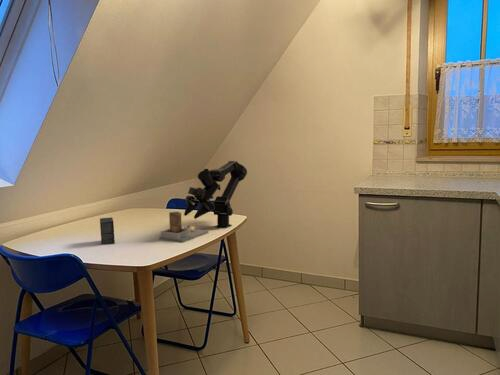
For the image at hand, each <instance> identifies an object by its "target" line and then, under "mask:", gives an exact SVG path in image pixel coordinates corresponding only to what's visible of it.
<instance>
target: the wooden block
mask: <svg viewBox="0 0 500 375" xmlns="http://www.w3.org/2000/svg"><path fill="white" fill-rule="evenodd" d="M168 213H169V215H168V216H169V229H170V232H171V233H180V232H182V227H183V225H182V223H183V222H182V212H180V211H171V212H168Z"/></svg>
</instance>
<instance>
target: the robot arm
mask: <svg viewBox="0 0 500 375" xmlns="http://www.w3.org/2000/svg"><path fill="white" fill-rule="evenodd" d="M228 174H230V179H229V180H228V183H227V185H226V187H225V189H224V190H223V193H222V195H221V196H216V198H215V200H213V202H212V201H211V200H212V199H213V198H214V194H215V193H216V192H217V190H218V191H221V184H220V183H221V182H223V181H224V180H225V179H226V176H227V175H228ZM247 174H248V170H247V167H245V166H244V165H243V164H241V163H239V162H238V161H237V160H229V161H227V163H225V164H223V165H222V166H221V167H219V168H213V169H211V170H209V168H204V169H203V170H201V171H199V173H198V174H197V178H198V180H199V182H200V183H201V184H202V185H203V188H201V187H189V189H188V192H187V194H189V195H187V196H186V197H185V202H186V208H185V210H184V213H183V216H185V217H187V216H188V215H189V214H190V213H191V212H193V211H194V210H196V208H197V207H198V206H199V208H198V209H197V211H196V212H195V214H194V216H193V219H195V220H197V219H198V218H200V217H202V216H203V215H206V214H208V213H210V212H213V215H214V216H217V217H216V218H217V219H216V222H217V223H216V224H217V225H215V226H214V227H216V228H222V229H223V228H224V229H226V228H229V227H231V226H232V223H231V224H230V216H232V215H233V213H234V210H233V208H232V207H231V199H232V197H233V195H234V192H235V191H236V189H237V187H238V184H239V183H240V182H241V181H244V179H245V178H246V176H247ZM219 182H220V183H219Z"/></svg>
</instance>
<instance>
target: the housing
mask: <svg viewBox="0 0 500 375" xmlns="http://www.w3.org/2000/svg"><path fill="white" fill-rule="evenodd" d="M160 233H161V234H160V236H159V237H158V239H159V240H165V241H170V242H171V241H172V242H177V243H185V242H187V241H190V240H193V239H196V238H198V237H201V236H203V235H204V236H205V235H206V234H209V230H206V229H204V230H203V229H198V228H195V226H192V225H191V224H187V226H183V228H182V232H180V233H171V232H170V228H168V229H166V230H162V231H160Z"/></svg>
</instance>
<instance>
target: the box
mask: <svg viewBox="0 0 500 375" xmlns="http://www.w3.org/2000/svg"><path fill="white" fill-rule="evenodd" d="M113 219H114V218H113V217H112V216H111V217H102V218H101V217H100V218H99V227H100V228H99V229H100V241H101V246H102V245H103V246H104V245H113V244H115V243H116V242H115V241H116V240H115V226H114V220H113Z"/></svg>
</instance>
